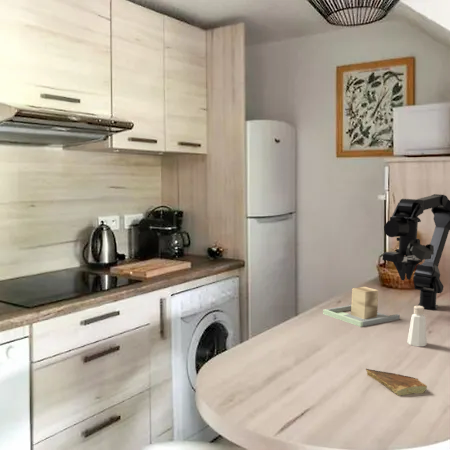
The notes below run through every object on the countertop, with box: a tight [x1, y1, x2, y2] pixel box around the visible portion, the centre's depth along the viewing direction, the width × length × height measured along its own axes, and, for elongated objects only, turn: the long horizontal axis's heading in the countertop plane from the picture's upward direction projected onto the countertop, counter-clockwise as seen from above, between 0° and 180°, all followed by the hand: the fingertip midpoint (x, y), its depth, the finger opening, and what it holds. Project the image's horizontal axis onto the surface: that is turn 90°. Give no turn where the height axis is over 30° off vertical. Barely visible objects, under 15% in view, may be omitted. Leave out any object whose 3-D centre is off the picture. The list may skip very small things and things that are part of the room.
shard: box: [365, 368, 428, 396], centre depth 126 cm, size 13×9×2 cm
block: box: [350, 286, 379, 319], centre depth 178 cm, size 6×6×9 cm
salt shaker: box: [406, 305, 428, 347], centre depth 154 cm, size 5×5×11 cm
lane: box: [322, 304, 401, 328], centre depth 178 cm, size 18×17×3 cm
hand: (405, 279), depth 186 cm, fingers open, 3 cm apart
